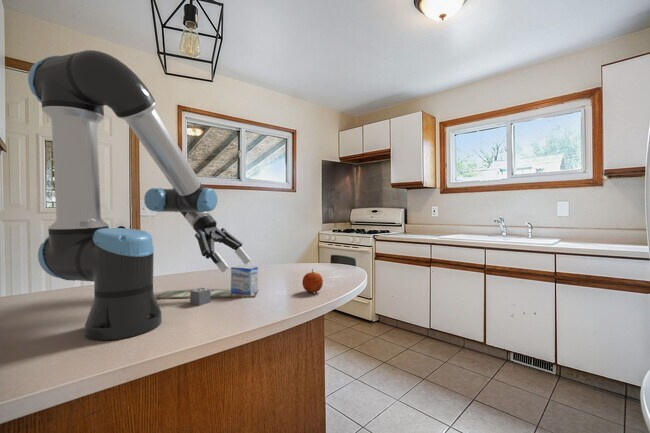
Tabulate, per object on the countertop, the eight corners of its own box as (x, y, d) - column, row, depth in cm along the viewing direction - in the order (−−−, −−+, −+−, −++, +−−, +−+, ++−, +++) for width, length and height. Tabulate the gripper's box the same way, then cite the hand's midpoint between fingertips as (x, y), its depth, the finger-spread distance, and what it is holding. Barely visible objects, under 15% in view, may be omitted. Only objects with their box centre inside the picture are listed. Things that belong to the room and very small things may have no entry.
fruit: (319, 296, 98) (319, 271, 98) (299, 294, 100) (299, 270, 100) (324, 290, 105) (324, 267, 105) (305, 289, 107) (305, 267, 107)
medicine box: (230, 293, 100) (230, 267, 100) (238, 289, 104) (238, 264, 104) (250, 295, 97) (250, 268, 97) (258, 291, 102) (258, 266, 102)
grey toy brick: (210, 302, 91) (210, 289, 91) (199, 306, 88) (199, 292, 88) (201, 300, 93) (201, 287, 93) (190, 304, 90) (190, 290, 90)
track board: (259, 289, 106) (259, 288, 106) (255, 297, 97) (255, 296, 97) (168, 291, 103) (168, 290, 103) (155, 299, 94) (155, 297, 94)
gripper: (217, 226, 121) (250, 266, 117) (168, 230, 97) (206, 281, 93) (229, 213, 119) (262, 253, 115) (181, 214, 95) (221, 265, 91)
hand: (237, 265), depth 104 cm, fingers open, 13 cm apart
